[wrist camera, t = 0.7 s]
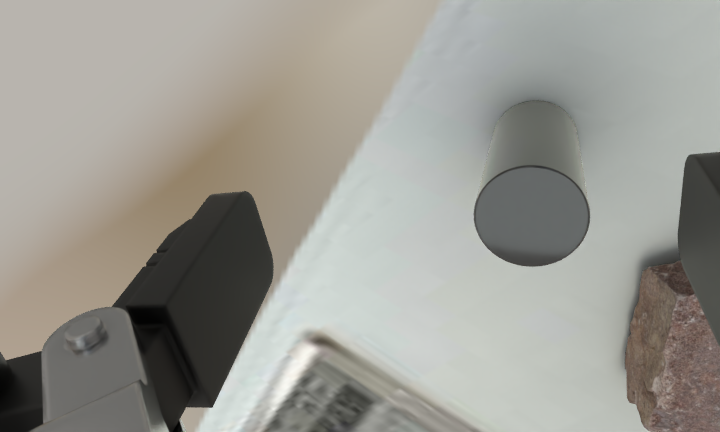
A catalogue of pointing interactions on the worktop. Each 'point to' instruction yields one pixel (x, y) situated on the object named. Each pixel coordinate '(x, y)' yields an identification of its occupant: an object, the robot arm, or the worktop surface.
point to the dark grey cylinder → (533, 187)
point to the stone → (672, 356)
